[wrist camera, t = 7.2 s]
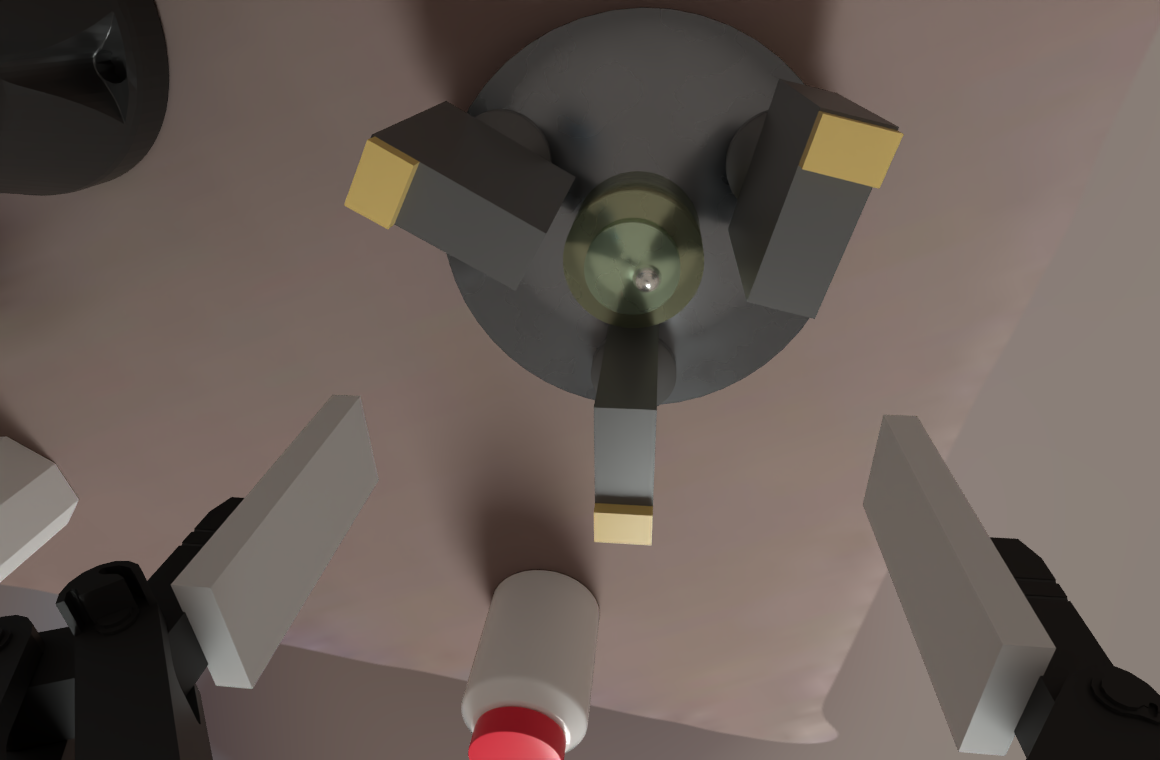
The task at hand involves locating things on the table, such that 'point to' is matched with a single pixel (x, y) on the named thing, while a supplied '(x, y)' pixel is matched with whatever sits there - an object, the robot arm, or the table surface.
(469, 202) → the knob
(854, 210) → the leg
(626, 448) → the knob
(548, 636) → the pill bottle
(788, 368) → the table surface
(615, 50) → the plate
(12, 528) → the mug
